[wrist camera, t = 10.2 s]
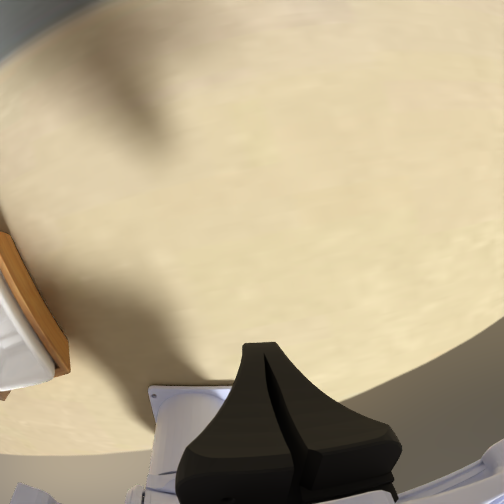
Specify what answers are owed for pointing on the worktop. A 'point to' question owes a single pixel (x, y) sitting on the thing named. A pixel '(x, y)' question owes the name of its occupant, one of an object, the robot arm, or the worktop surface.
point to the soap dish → (26, 327)
